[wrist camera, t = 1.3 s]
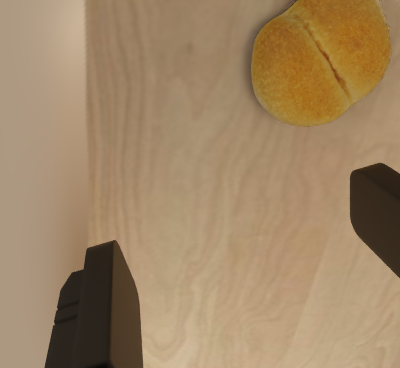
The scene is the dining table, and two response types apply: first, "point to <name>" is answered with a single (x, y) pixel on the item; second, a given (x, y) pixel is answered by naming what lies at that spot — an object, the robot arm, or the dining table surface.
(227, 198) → the dining table surface
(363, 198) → the robot arm
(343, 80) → the bread roll
